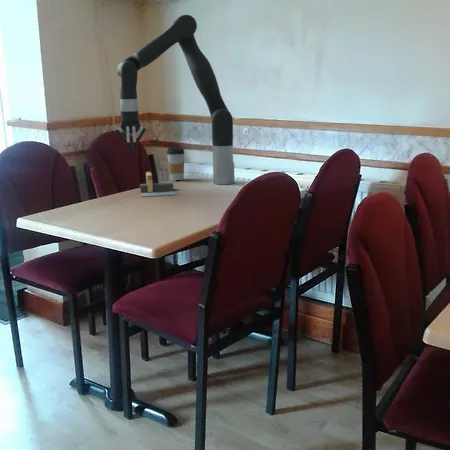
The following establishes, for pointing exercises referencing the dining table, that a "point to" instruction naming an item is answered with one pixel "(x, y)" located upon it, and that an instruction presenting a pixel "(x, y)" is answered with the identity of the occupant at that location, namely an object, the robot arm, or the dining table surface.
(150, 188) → the yellow bent bar
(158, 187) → the dark gray rectangular block
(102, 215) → the dining table surface
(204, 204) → the dining table surface
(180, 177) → the coffee cup
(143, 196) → the light blue panel
